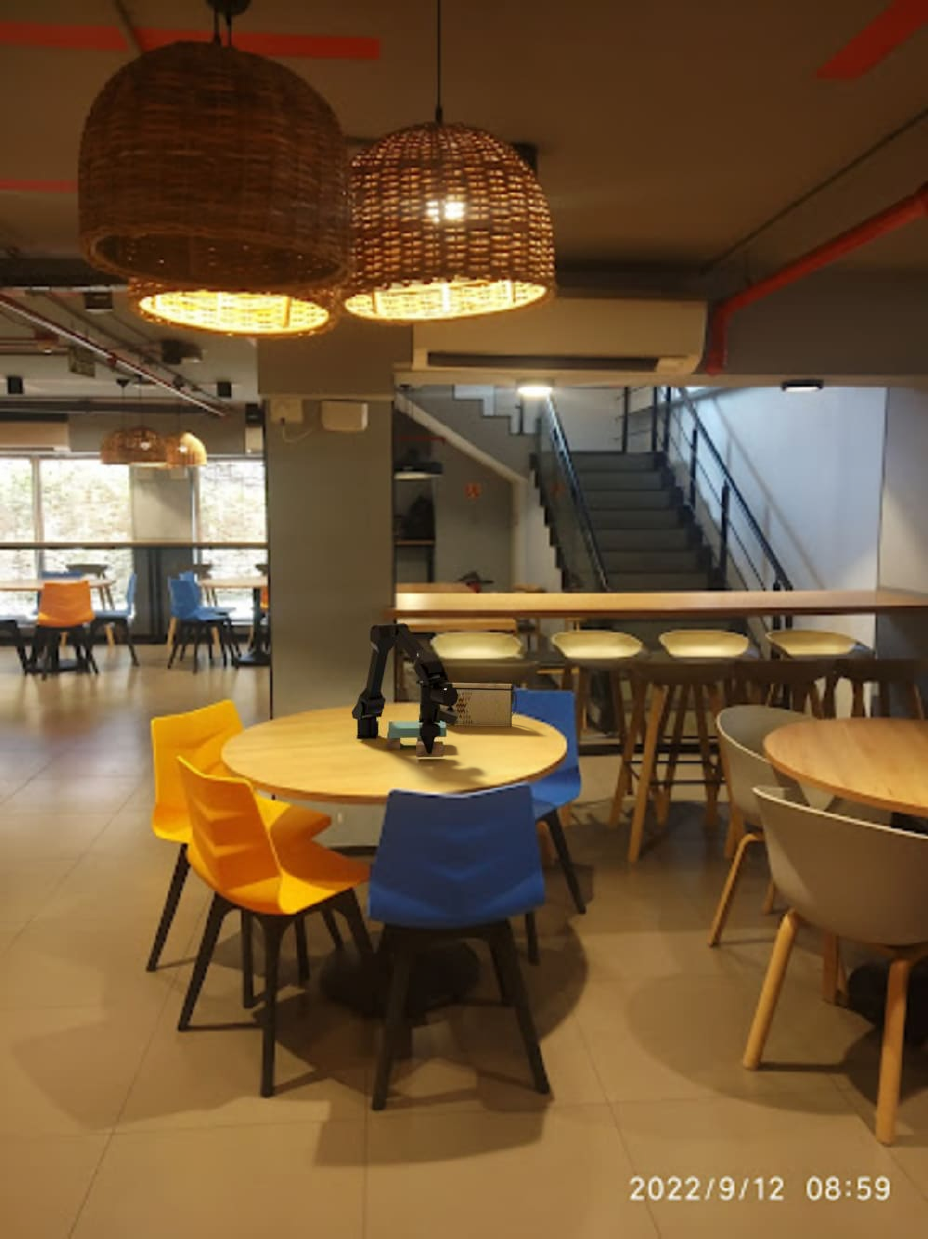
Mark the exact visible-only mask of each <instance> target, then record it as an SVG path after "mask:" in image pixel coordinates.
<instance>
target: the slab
mask: <svg viewBox="0 0 928 1239" xmlns="http://www.w3.org/2000/svg"><path fill="white" fill-rule="evenodd" d="M421 724H422V723H419V720H413V721H412V720H407V721H405V720H404V721H388V726H387V727H388V731H387V734H388V733H389V738H400V739H404V738H405V739H406V738H407V739H408V738H409V739H410V738H412V739H414V738H416V739H417V738H419V737H421V736H419V725H421ZM437 724H438V725H439V726H440V728H441V735H440V736H437V737H436V738H445V737H447V725H446V723H445V722H442V721H440V723H437Z"/></svg>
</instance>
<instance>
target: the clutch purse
mask: <svg viewBox="0 0 928 1239" xmlns="http://www.w3.org/2000/svg"><path fill="white" fill-rule="evenodd" d="M451 683H452V684H453V688H455V689H456V691H457V693H458V700H457V702H456V704H455V705H453V706H452V707H453V709H454V712H456V713H457V714H458V718H457V721H456V724H455V726H456V725H457V726H489V727H490V726H495V727H498V726H499V727H505V726H506V727H513V724H512V723H513V720H512V719H513V716H514V715H515V712H516V709H517V706H518V705H517V704H518V698H517V696H518V695H517V690H516V688H515V684H514V683H471V682H470V683H469V682H468V683H467V682H465V683H464V682H451ZM514 699H515V700H514ZM514 701H515V702H514ZM514 703H515V706H514V710H513V704H514ZM440 708H443V709H444V708H445V709H446V708H447V706H444V705H440ZM448 725H449V726H451V725H450V724H448V723H446V726H448Z"/></svg>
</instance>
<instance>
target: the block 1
mask: <svg viewBox="0 0 928 1239" xmlns="http://www.w3.org/2000/svg"><path fill="white" fill-rule="evenodd" d="M400 750H401V738H389V733H388V732H387V736H386V751H400Z"/></svg>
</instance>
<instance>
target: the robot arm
mask: <svg viewBox="0 0 928 1239" xmlns="http://www.w3.org/2000/svg"><path fill="white" fill-rule="evenodd" d="M369 641H370V643H371V646H372V654H371V657H370V658H371V659H370V664H369V669H368V676H367V680H366V686H365V688H364V689H363V691H361V693H360V694H359V697H358V699H357V703H356V704H355V706H354V707H353V708H352V710H351V717H352V719H355V720H356V724H357V730H356V732H357V734H356V738H357V739H376V738H378V736H379V733H380V730H379V724H380V723H379V722H380V721H379V720H377V719H378V718H382V716H383V712H384V710H385V704H386V697H385V696H384V695H383V693H382V687H383V682H384V678H385V672H386V666H387V662H388V656H389V653H390V651H391V650H392V648H394V647H395V645H396V643H398V644H399V645H400V646H401V647H402V649H403V650H404V651H405V653H406V654H407V656H409V658H410V659H411V661H412V662H413V670H414V672H415V674H416V675H417V677H418V679H417V680H416V681H415V684H416V685H419V713H418V714H419V715H418V721H419V723H422V724H421V725H419V736H421V739H422V741H423V743H424V746H425V748H426V751H427V753H428V754H431V753H432V749H433V744H434V741H435V739H436V738H438V737H437V736H440V735H441V728H440V726H439V725H438V724H437V723H440V721H442V722H445V723H448V724H450V725H449V726H453V727H455V726H456V725H455V724H456V721H457V718H458V714H457V713H456V712H454V709H453V707H452V706H453V705H455V704H456V702H457V700H458V693H457V691H456V689H455V688H453V684H452V683H453V682H450V679H449V676H448V674H447V672H446V669H445V667H444V664H443V663H442V660H441V659H440V658H439V657H437V656H436V655H435V654H433V653H431V652H430V651H429V652H428V651H427V650H426V649H425V648H424V646H423V645H422V644H421V643H420V641H419V640H418V639H417V637H416V636H415V635H414V633H412V631H411V629H410V628H409V625H408V624H407V623H405V622H400V623H380V624H379V623H378V624H374V625H373V626H372V627H371V628H370V632H369ZM440 705H444V706H447V708H446V709H445V708H444V709H443V708H440Z"/></svg>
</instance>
